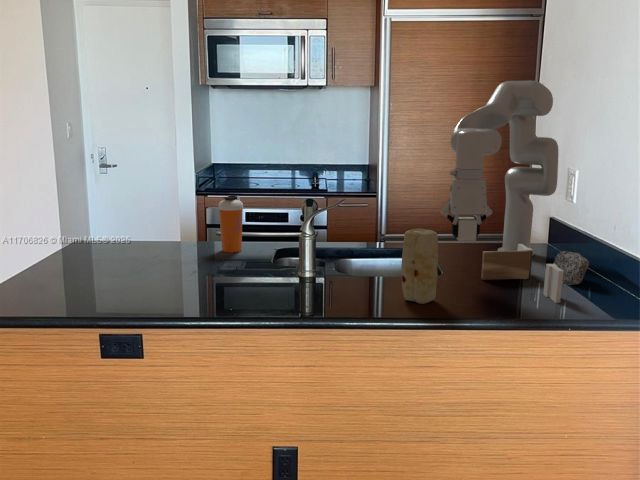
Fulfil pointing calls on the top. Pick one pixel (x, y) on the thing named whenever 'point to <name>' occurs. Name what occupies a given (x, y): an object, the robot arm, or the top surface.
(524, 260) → the door
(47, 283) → the top surface
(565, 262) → the rock
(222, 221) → the shaker bottle
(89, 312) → the top surface
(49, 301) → the top surface
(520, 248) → the door frame
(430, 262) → the food model
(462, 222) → the white stepped block
